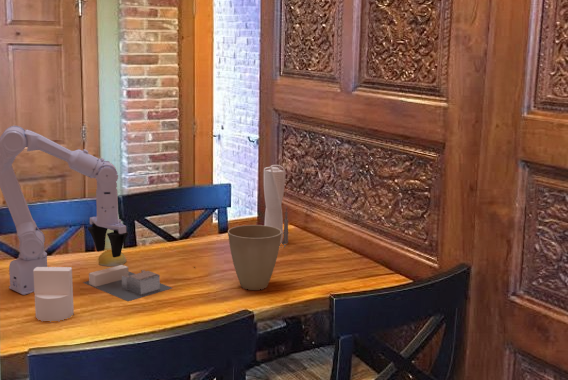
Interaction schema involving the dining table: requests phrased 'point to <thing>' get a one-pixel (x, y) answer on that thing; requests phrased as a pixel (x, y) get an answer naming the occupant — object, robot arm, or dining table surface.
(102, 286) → the mat
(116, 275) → the pale grey rectangular bar
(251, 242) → the plant pot
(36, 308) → the base with upright slab
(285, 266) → the dining table surface
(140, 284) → the end cap
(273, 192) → the skyscraper
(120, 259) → the bread roll
